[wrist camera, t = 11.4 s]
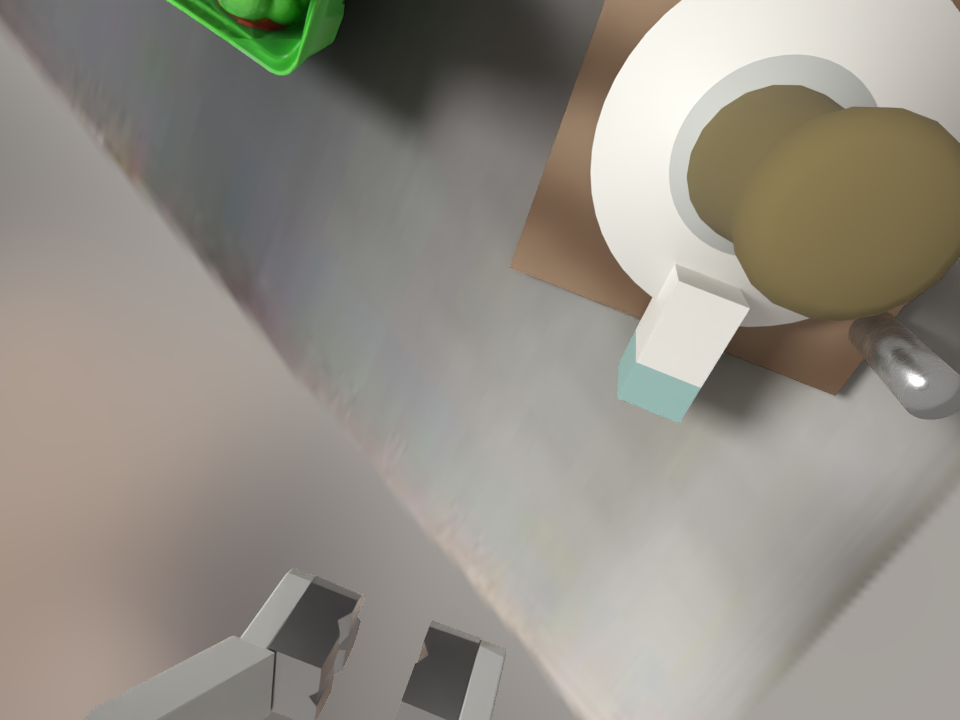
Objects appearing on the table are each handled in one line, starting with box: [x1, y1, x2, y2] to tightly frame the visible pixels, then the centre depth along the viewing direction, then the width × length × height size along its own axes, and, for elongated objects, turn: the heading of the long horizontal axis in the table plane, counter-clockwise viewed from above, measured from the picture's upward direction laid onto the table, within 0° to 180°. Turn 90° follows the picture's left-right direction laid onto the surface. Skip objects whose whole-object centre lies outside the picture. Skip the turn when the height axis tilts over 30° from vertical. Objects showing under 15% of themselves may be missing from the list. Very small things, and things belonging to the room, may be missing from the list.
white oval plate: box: [590, 0, 960, 423], centre depth 23 cm, size 18×14×4 cm
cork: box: [687, 85, 960, 321], centre depth 17 cm, size 6×6×11 cm
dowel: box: [848, 312, 960, 419], centre depth 23 cm, size 2×2×7 cm
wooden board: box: [510, 0, 960, 395], centre depth 24 cm, size 17×17×1 cm
